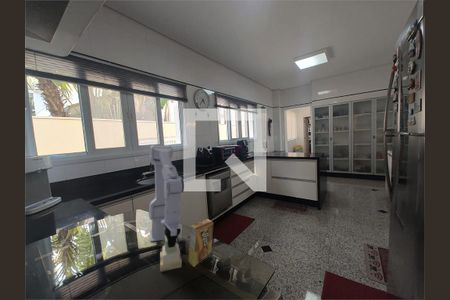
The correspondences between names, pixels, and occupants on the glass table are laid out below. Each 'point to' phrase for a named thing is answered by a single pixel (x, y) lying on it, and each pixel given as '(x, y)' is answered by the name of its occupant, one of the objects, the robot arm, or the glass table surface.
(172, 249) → the block
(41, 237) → the glass table surface
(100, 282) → the glass table surface
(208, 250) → the candy box
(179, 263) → the slab bottom
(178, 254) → the slab top
